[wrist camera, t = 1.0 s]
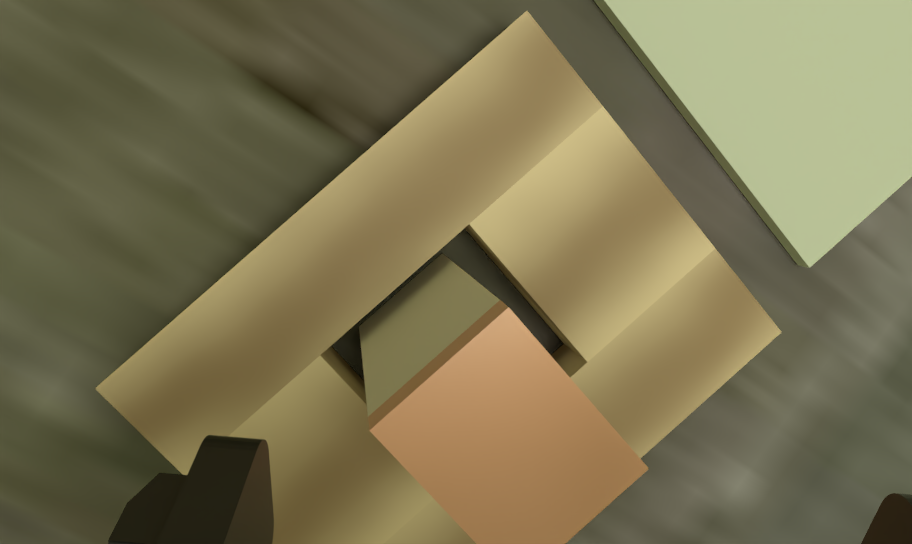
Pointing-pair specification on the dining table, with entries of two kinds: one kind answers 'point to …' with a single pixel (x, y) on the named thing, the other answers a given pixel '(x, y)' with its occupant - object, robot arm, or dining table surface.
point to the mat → (788, 101)
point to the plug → (487, 414)
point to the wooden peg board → (411, 245)
